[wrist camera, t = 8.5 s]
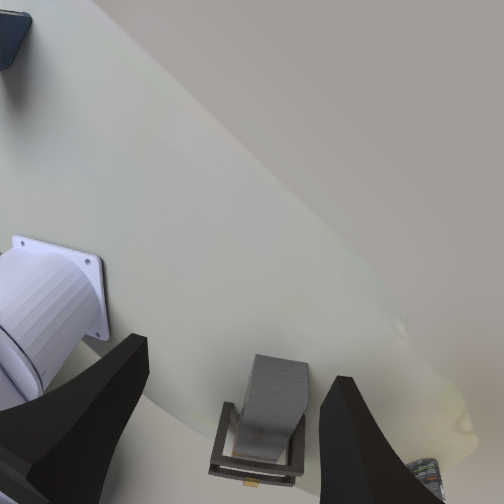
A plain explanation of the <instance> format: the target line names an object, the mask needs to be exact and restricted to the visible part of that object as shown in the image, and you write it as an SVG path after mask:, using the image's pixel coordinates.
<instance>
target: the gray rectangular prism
mask: <svg viewBox="0 0 504 504" xmlns="http://www.w3.org/2000/svg"><path fill="white" fill-rule="evenodd" d="M307 405H308V363H304V362H298V361H292V360H286V359H280V358H274V357H269V356H263V355H258V354H256V355H255V359H254V363H253V367H252V371H251V375H250V379H249V383H248V387H247V391H246V395H245V399H244V402H243V406H242V410H241V414H240V418H239V419H238V424H237V429H236V435H235V440H234V445H233V451H232V456H231V457H233V458H239V459H245V460H251V461H257V462H264V463H271V464H276V462H278V460H279V457H280V455H281V454H282V452H283V450H284V448H285V446H286V445H287V443H288V441H289V439H290V437H291V435H292V434H293V432H294V430H295V428H296V426H297V424H298V422H299V420H300V418H301V417H302V415H303V413H304V411H305V409H306V407H307Z"/></svg>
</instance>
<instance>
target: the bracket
mask: <svg viewBox="0 0 504 504" xmlns="http://www.w3.org/2000/svg"><path fill="white" fill-rule="evenodd" d="M232 405H233V403H228V402H224V404H223V408H222V413H221V417H220V421H219V425H218V430H217V434H216V438H215V442H214V447H213V451H212V455H211V460H210V463H212V464H216V465H221V466H227V467H232V468H238V469H243V470H249V471H256V472H263V473H270V474H279V475H288V476H299V477H301V476H302V475H303V474H304V449H305V415H302V417H301V418H300V420H299V422H298V424H297V426H296V428H295V430H294V436H293V457H292V466H288V465H279V464H271V463H264V462H257V461H251V460H245V459H239V458H233V457H228V456H223V455H222V452H223V448H224V444H225V439H226V434H227V429H228V425H229V420H230V415H231V410H232Z"/></svg>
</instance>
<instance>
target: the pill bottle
mask: <svg viewBox="0 0 504 504" xmlns="http://www.w3.org/2000/svg"><path fill="white" fill-rule="evenodd" d="M406 467H407V468H408V469H409V470H410V471H411V472H412V474H413V475H414V476H415V477H416V478H417V479H418V480H419V481H420V482H421V483H422V484H423V485H424V486H425V487H426V488H427V489H428V490H429V491H431V492H432V493H433V494H434V495H435V496H436V497H438V498H439V499H440V500H441V501H443V502H444V503H446V500H445V493H444V489H443V485H442V480H441V475H440V471H439V466H438V462H437V461H436V460H435V459H423V460H419V461H416V462H413V463H410V464H408V465H406Z"/></svg>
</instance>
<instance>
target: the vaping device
mask: <svg viewBox="0 0 504 504" xmlns="http://www.w3.org/2000/svg"><path fill="white" fill-rule="evenodd" d="M31 19H32V18H31V17H30V15H29V14H28V13H26V12H21V13H20V12H15V11H8V10H0V70H2V69H4V68H7V67H8V66H10V64H11V63H12V61H13V59H14V57H15V54H16V52H17V50H18V48H19V45H20V43H21V41H22V39H23V37H24V35H25V33H26V31H27V29H28V27H29V25H30V23H31Z"/></svg>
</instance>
